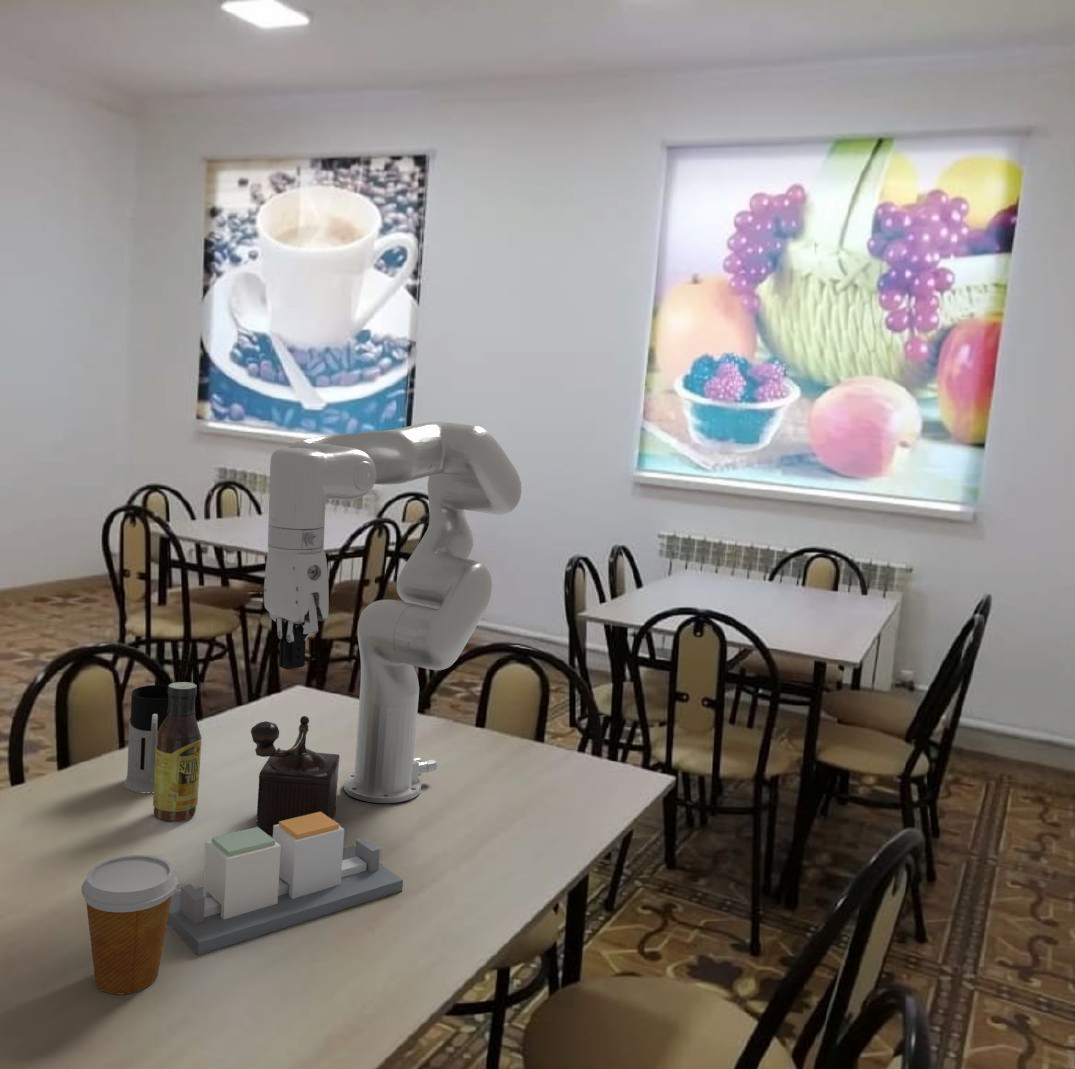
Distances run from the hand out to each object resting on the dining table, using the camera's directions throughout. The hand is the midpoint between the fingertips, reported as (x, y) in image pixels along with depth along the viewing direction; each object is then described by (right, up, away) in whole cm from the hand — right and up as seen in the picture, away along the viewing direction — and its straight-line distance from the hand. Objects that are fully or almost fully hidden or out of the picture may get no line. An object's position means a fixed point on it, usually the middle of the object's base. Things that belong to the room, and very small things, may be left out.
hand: (291, 666), depth 142 cm
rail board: (+2, -28, -14) cm, 31 cm away
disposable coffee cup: (-10, -29, -33) cm, 45 cm away
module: (+5, -26, -12) cm, 29 cm away
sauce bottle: (-19, -23, +8) cm, 31 cm away
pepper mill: (-2, -25, +7) cm, 26 cm away
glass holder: (-26, -22, +17) cm, 38 cm away
